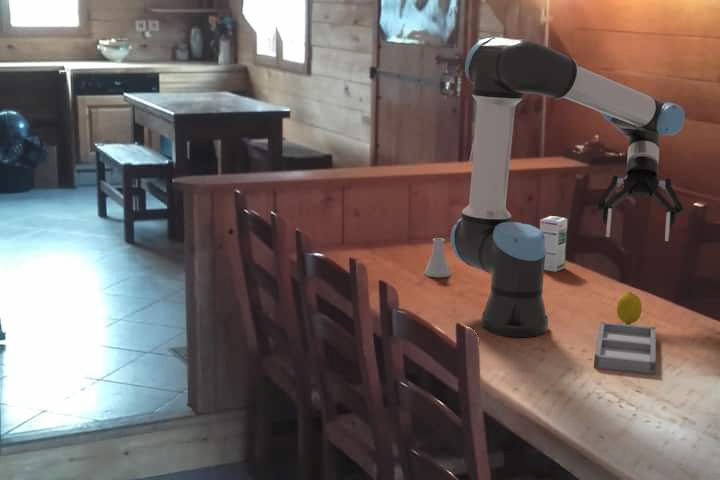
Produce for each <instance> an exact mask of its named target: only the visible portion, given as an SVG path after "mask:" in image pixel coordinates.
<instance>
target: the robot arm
mask: <svg viewBox="0 0 720 480" xmlns="http://www.w3.org/2000/svg"><path fill="white" fill-rule="evenodd" d="M464 64H465V65H464V69H465V70H464V71H465V76H466V77H467V79H468V81H469V82H470V83H471V84H472V91H471V92H472V93H471V94H472V95H471V96H472V97H473V100H475V101H476V103H477V112H476V121H475V122H476V123H475V133H474V144H473V156H472V166H471V180H470V188H469V189H470V190H469V201H468V205H467V206H465V208H463V209H462V210H461V218H459V219H458V220H457V222H456V223H455V224H454V225H453V227H452V228H451V233H450V245H451V248H452V251H453V253H454V255H455V256H456V257H457V259H459V261H461V262H464V263H465V264H466V265H467V266H469V267H473V268H476V269H477V270H480V271H483V272H484V273H487V274H489V275H491V276H490V277H491V278H490V279H491V281H490V283H491V284H490V294H489V296H488V299H487V302H486V305H485V308H484V310H483V312H482V314H481V327H482V329H484V330H486V331H488V332H489V333H491V334H495V335H499V336H503V337H509V338H510V337H511V338H532V337H536V336H541V335H543V334H545V333H546V332H547V331H548V329H549V318H548V315H547V313H546V308H545V302H544V299H543V287H544V274H545V270H544V263H545V252H546V247H545V236H544V234H543V233H542V231H541V230H540V228H538V227H536V226H533V225H531V224H528V223H522V222H518V221H511V220H512V219H511V218H512V214H511V212H509V211H508V209H507V207H506V206H507V205H506V204H507V196H508V195H507V194H508V183H509V174H510V162H511V152H512V151H511V150H512V144H513V143H512V142H513V132H514V120H515V112H516V111H515V110H516V109H515V108H516V106H517V105H518V104H519V103H520V102H521V101H522V100H523V98H524V94H533V95H539V96H544V97H548V98H551V99H554V100H560V99H566V100H568V101H571V102H574V103H576V104H579V105H581V106H584V107H587V108H590V109H592V110H595V111H597V112H599V114H600V115H602V117H603V118H604V119H605V121H608V123H610V124H611V125H612V126H614V127H615V128H616V129H617V130H618V131H619V132H621V134H623V135H624V136H625V137H626V138H628V148H627V161H626V170H625V177H624V178H621V177H618V175H613V176H612V179H611V183H610V184H609V185H608V186H607V188H606V189H605V190H604V192H603V193H602V194H601V196H600V197H599V199H598V200H597V201H596V202H595V204H596V207H595V208H596V209H595V210H596V211H599V212H602V223H603V224H606V229H605V232H606V233H605V237H606V238H609V237H610V236H611V235H610V233H611V223H612V211H613V210H614V209H615V208H616V207H617V206H618V205H620V204H621V203H622V202H623V201H624V200H625V199H628V198H629V197H630V196H633V197H635V198H637V197H641V198H647V197H650V198H651V200H653V201H655V202H656V204H657V205H658V206H659V207H661V209H662V210H663V211H664V212H665V213H666V217H665V218H666V219H665V232H664V235H665V236H664V241H665V242H669V237H670V229H674V228H675V224H676V223H675V221H676V217H677V216H679V217H682V216H683V214H684V207H683V205H682V202H681V201H680V200H679V198H678V196H677V193H676V192H675V190H674V189H673V187H672V184H671V183H672V181H671V178H669V177H668V178H665V180H659V178H658V173H659V160H660V159H659V158H660V139H661V136H675V135H677V134H678V133H679V132H680V131H681V130H682V129H683V127H684V125H685V124H684V123H685V119H686V116H685V115H686V114H685V111H684V109H683V107H682V106H680V105H679V104H677V103H673V102H670V101H669V102H665V101H661V100H659V99H657V98H654V97H652V96H650V95H648V94H646V93H643V92H641V91H637V90H636V89H634V88H631V87H629V86H626V85H623V84H622V83H619V82H617V81H614V80H613V79H610V78H608V77H605V76H602V75H600V74H597V73H595V72H593V71H591V70H588V69H586V68H583V67H582V66H579V65H578V64H577V61H576V60H575V59H574V58H572V57H569V56H567V55H565V54H563V53H562V52H559V51H557V50H555V49H552V48H551V47H548V46H546V45H544V44H542V43H539V42H536V41H534V40H530V39H526V38H525V39H524V38H523V39H519V38H508V37H501V36H497V37H494V36H493V37H487V38H483V39H481V40H479V41H478V42H476V43H475V44H474V45H473V46H472V47H471V48H470V49H469V51H468V53H467V56H466V59H465V63H464ZM621 185H623V186H624V187H623V188H622V189H621V191H619V192H618V193H617V194H615V196H614V195H613V194H614V193H615V191H616V190H617V188H619V187H620V186H621ZM659 187H661V189H662V191H665V192H664V193H665V195H666V196H667V199H668V200H669V201H670V202H669V201H668V200H667V199H666V198H665V197H664V196H663V194H662V193H660V192H659V190H658V188H659ZM612 196H613V197H612ZM611 197H612V198H611ZM609 199H610V200H609Z"/></svg>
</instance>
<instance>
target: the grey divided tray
mask: <svg viewBox="0 0 720 480" xmlns="http://www.w3.org/2000/svg"><path fill="white" fill-rule="evenodd" d="M656 345H657V344H656V327H655V326H654V327H653V326H652V327H651V326H645V325H644V326H643V325H635V324H630V325H626V324H625V323H613V322H605V321H603V322H602V321H600V323H599V327H598V334H597V340H596V346H595V353H594V357H593V358H594V361H593V369H602V370H610V371H611V370H612V371H618V372H628V373H639V374H644V375H645V374H646V375H655V372H656V359H657V358H656V353H657V352H656V348H657V347H656Z"/></svg>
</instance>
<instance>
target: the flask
mask: <svg viewBox="0 0 720 480" xmlns="http://www.w3.org/2000/svg"><path fill="white" fill-rule="evenodd" d="M432 241H433V248H432V253H431V254H430V257H429V261H428V263H427V266H426V268H425V271H424V275H426V276H427V277H429V278H449V277H450V276H451V271H450V267H449V264H448V261H447V258H446V254H445V251H444V250H445V249H444V242H445V239H444V238H440V237H437V238H433V239H432Z"/></svg>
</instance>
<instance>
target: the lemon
mask: <svg viewBox="0 0 720 480" xmlns="http://www.w3.org/2000/svg"><path fill="white" fill-rule="evenodd" d="M642 307H643V306H642V302H641V299H640V297H639V296H638V295H637V294H635V293H633V292H632V291H629V292H627V293H624V294H623V295H621V296H620V297H619V299H618V302H617V305H616V314H617V316H618V318H619V320H620V321H621V322H622V323H624V324H625V325H632V324H633V323H636V322H637V321H638V320H639V319H640V317H641V315H642V310H643V309H642Z"/></svg>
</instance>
